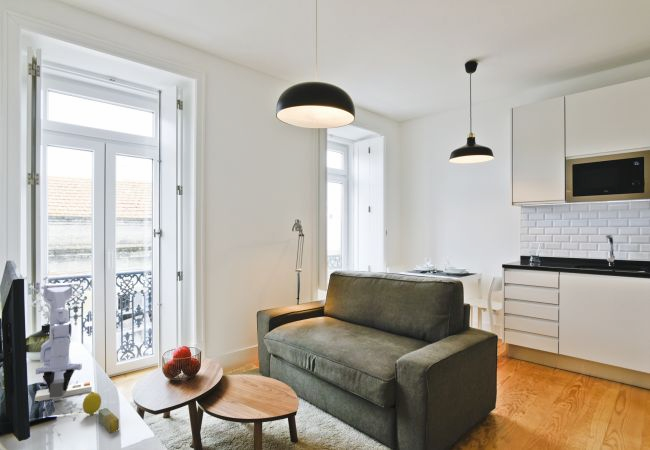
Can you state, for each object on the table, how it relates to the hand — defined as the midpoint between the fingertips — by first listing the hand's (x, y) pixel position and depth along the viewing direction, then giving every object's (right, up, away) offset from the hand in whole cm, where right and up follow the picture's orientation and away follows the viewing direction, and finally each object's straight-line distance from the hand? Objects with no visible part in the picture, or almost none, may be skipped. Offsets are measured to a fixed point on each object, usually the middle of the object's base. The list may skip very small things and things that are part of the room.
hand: (58, 390), depth 137 cm
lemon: (+20, -4, -10) cm, 22 cm away
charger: (0, -3, 0) cm, 3 cm away
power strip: (-2, -5, +6) cm, 8 cm away
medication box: (+30, -4, -17) cm, 35 cm away
